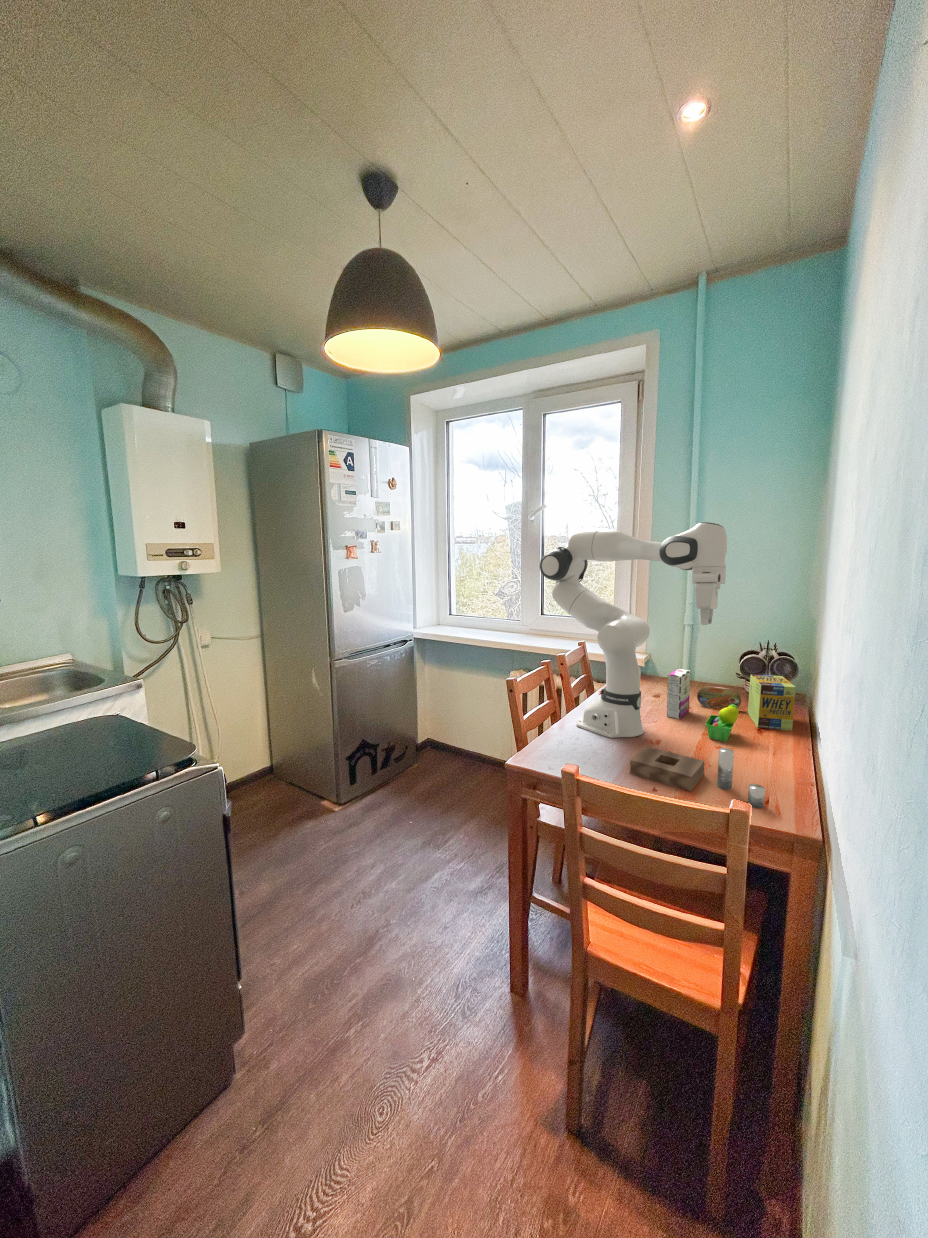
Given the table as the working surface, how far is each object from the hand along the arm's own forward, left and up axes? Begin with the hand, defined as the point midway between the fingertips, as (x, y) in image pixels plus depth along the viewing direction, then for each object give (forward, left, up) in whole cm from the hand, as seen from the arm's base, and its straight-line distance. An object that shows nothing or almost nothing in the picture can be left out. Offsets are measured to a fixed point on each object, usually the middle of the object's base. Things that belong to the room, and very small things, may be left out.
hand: (706, 624), depth 142 cm
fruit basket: (+2, +17, -40) cm, 43 cm away
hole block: (-3, -22, -40) cm, 45 cm away
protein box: (+12, +42, -40) cm, 59 cm away
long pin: (+11, -20, -40) cm, 46 cm away
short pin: (+19, -25, -40) cm, 51 cm away
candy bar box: (-16, +30, -40) cm, 52 cm away
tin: (-6, +47, -40) cm, 62 cm away
